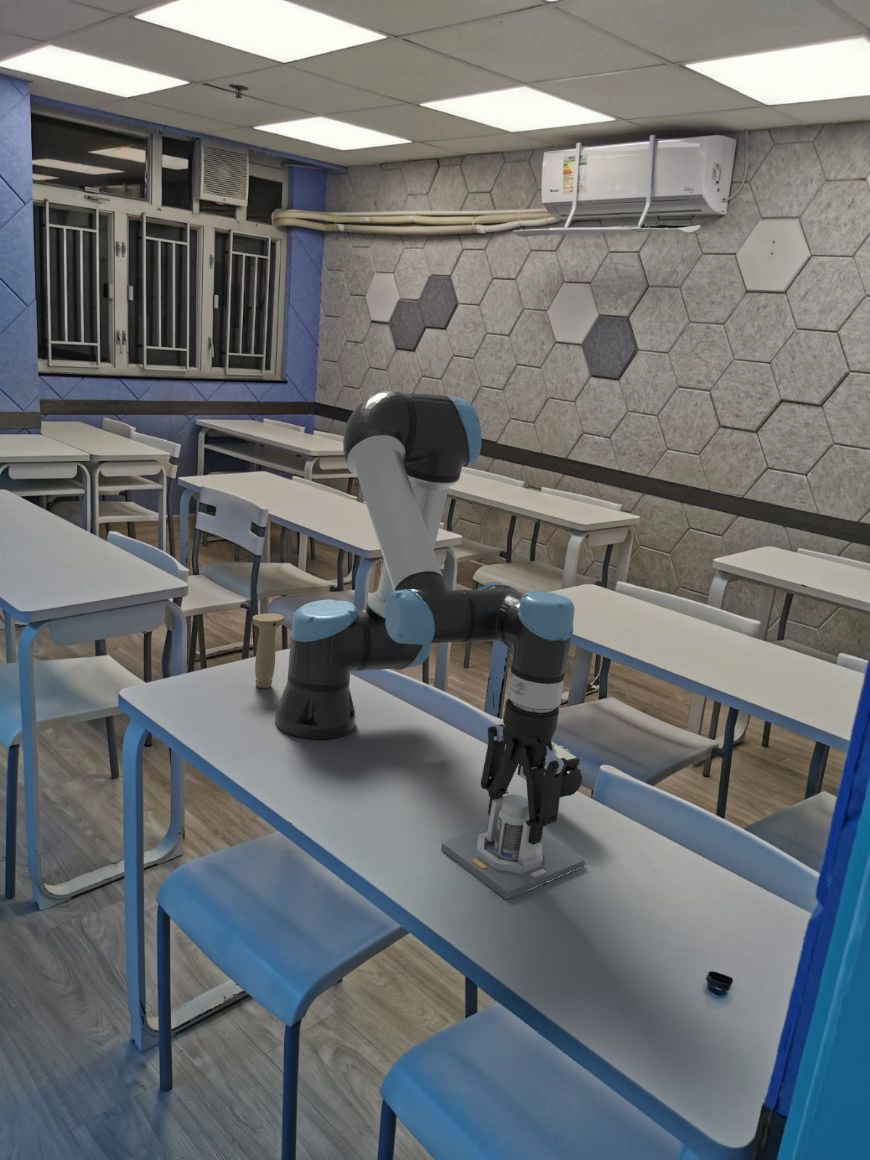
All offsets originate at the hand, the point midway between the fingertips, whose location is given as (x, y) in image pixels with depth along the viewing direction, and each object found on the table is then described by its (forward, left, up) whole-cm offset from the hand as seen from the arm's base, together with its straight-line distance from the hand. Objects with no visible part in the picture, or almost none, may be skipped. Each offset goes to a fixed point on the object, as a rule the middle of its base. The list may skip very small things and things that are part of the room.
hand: (510, 848), depth 128 cm
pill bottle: (0, 0, -1) cm, 1 cm away
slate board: (0, +1, -2) cm, 2 cm away
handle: (-73, 0, -2) cm, 73 cm away
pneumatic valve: (-8, +16, -2) cm, 18 cm away
